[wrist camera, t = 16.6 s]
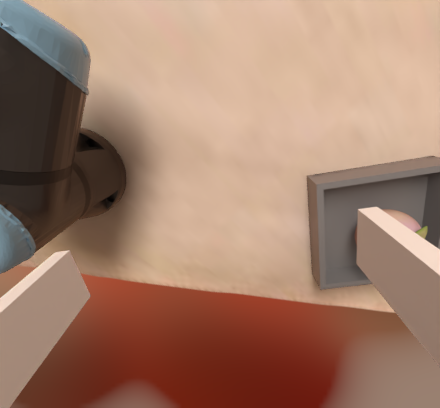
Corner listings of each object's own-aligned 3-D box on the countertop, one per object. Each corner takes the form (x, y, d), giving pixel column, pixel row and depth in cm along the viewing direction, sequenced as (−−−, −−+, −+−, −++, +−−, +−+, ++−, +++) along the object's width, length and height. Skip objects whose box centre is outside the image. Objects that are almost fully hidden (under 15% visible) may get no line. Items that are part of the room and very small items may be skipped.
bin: (311, 272, 49) (320, 289, 45) (306, 175, 42) (316, 184, 37) (418, 259, 47) (439, 276, 43) (432, 155, 40) (459, 162, 35)
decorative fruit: (370, 188, 41) (411, 212, 32) (405, 213, 43) (454, 243, 34) (331, 230, 45) (358, 263, 35) (365, 252, 46) (399, 289, 37)
